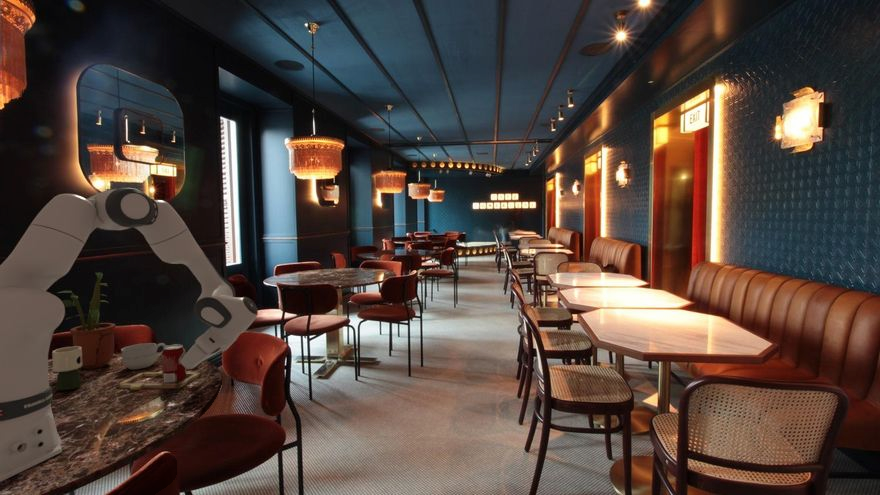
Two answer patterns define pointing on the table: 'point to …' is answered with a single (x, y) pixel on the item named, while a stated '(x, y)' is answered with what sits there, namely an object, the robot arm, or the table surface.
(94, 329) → the potted plant
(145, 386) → the wooden rectangular frame
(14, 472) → the robot arm
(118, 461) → the table surface
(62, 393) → the table surface
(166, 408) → the table surface
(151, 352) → the teacup
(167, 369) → the soda can
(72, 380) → the character mug
